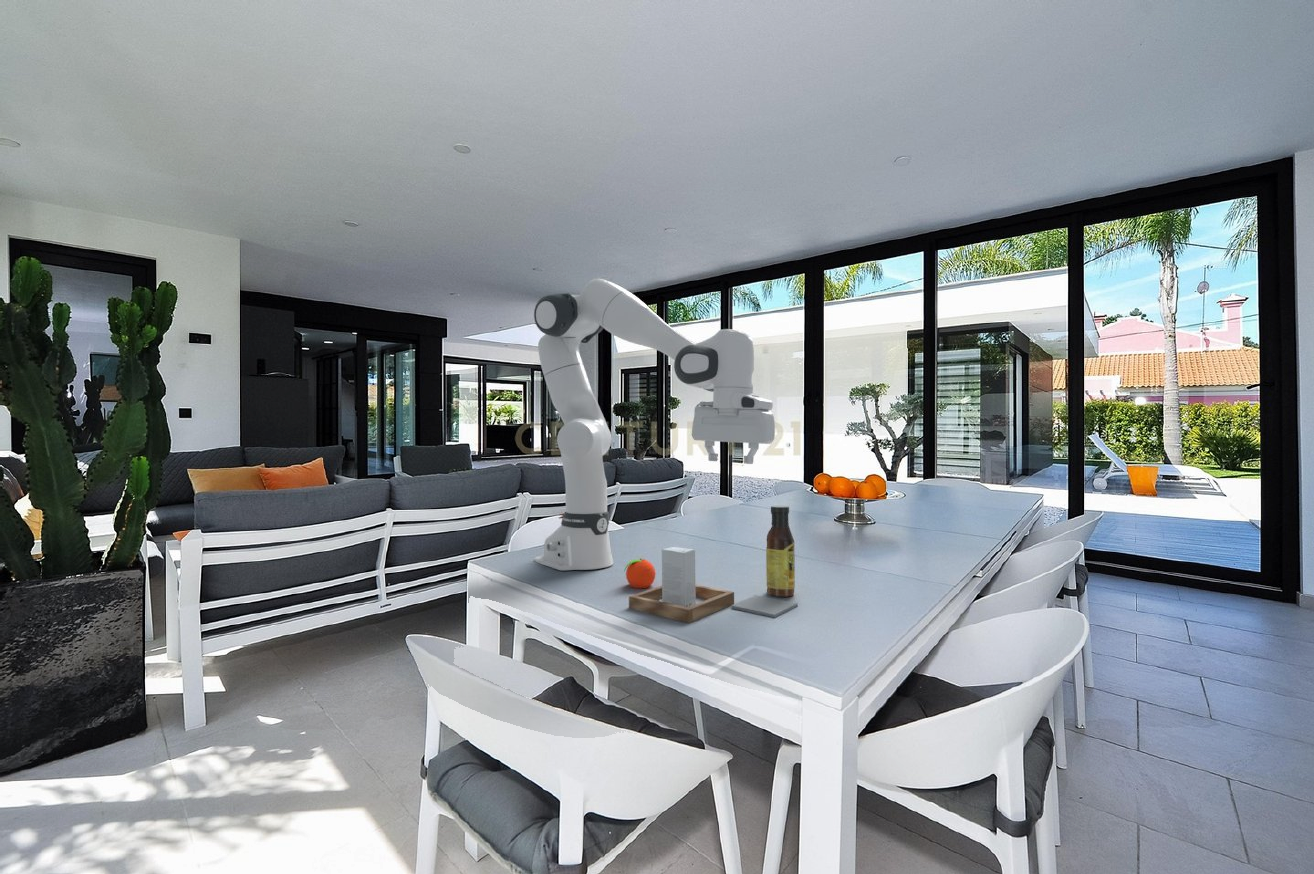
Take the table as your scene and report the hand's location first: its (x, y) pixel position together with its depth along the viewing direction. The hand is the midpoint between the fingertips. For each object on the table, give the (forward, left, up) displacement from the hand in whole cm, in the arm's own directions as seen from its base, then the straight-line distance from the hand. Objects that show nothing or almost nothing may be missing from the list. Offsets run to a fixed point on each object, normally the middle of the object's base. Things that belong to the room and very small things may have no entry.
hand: (730, 462), depth 133 cm
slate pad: (+11, -5, -30) cm, 32 cm away
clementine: (-19, -10, -30) cm, 37 cm away
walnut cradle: (-3, -15, -30) cm, 33 cm away
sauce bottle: (+9, +6, -30) cm, 32 cm away
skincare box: (-3, -15, -30) cm, 34 cm away
